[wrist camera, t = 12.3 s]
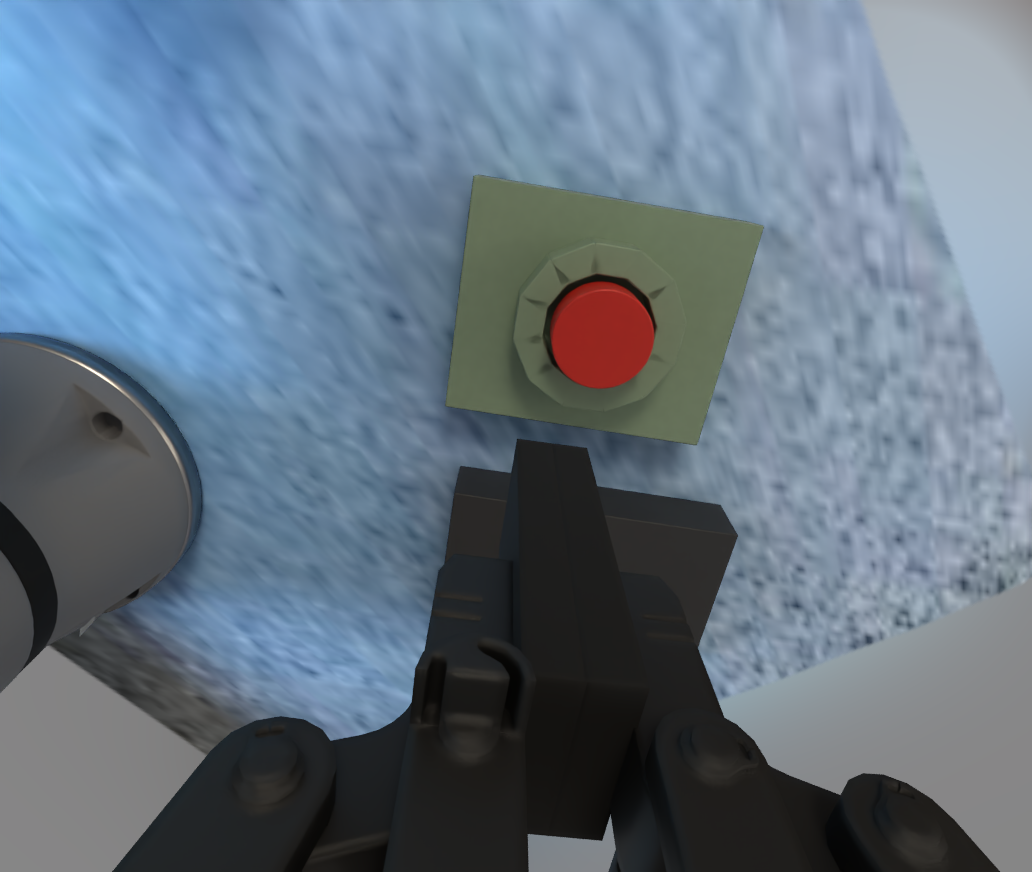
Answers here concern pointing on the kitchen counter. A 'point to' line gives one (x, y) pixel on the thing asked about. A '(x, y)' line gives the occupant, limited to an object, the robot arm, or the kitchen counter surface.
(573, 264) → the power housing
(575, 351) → the power button
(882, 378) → the kitchen counter surface
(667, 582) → the panel
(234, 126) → the kitchen counter surface
